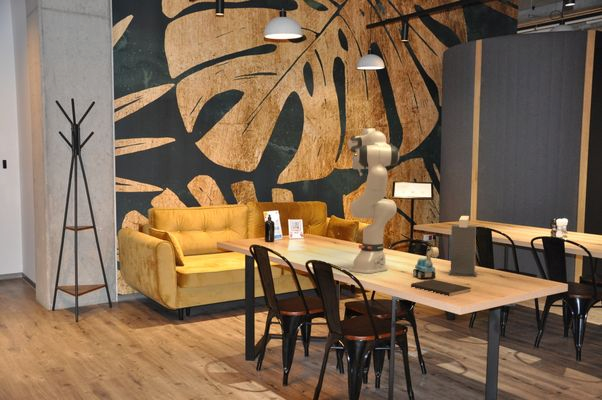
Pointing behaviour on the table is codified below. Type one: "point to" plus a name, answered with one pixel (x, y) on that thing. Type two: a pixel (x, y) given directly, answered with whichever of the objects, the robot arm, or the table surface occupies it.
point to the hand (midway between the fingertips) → (368, 175)
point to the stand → (463, 251)
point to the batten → (464, 221)
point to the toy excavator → (426, 265)
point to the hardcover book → (441, 287)
